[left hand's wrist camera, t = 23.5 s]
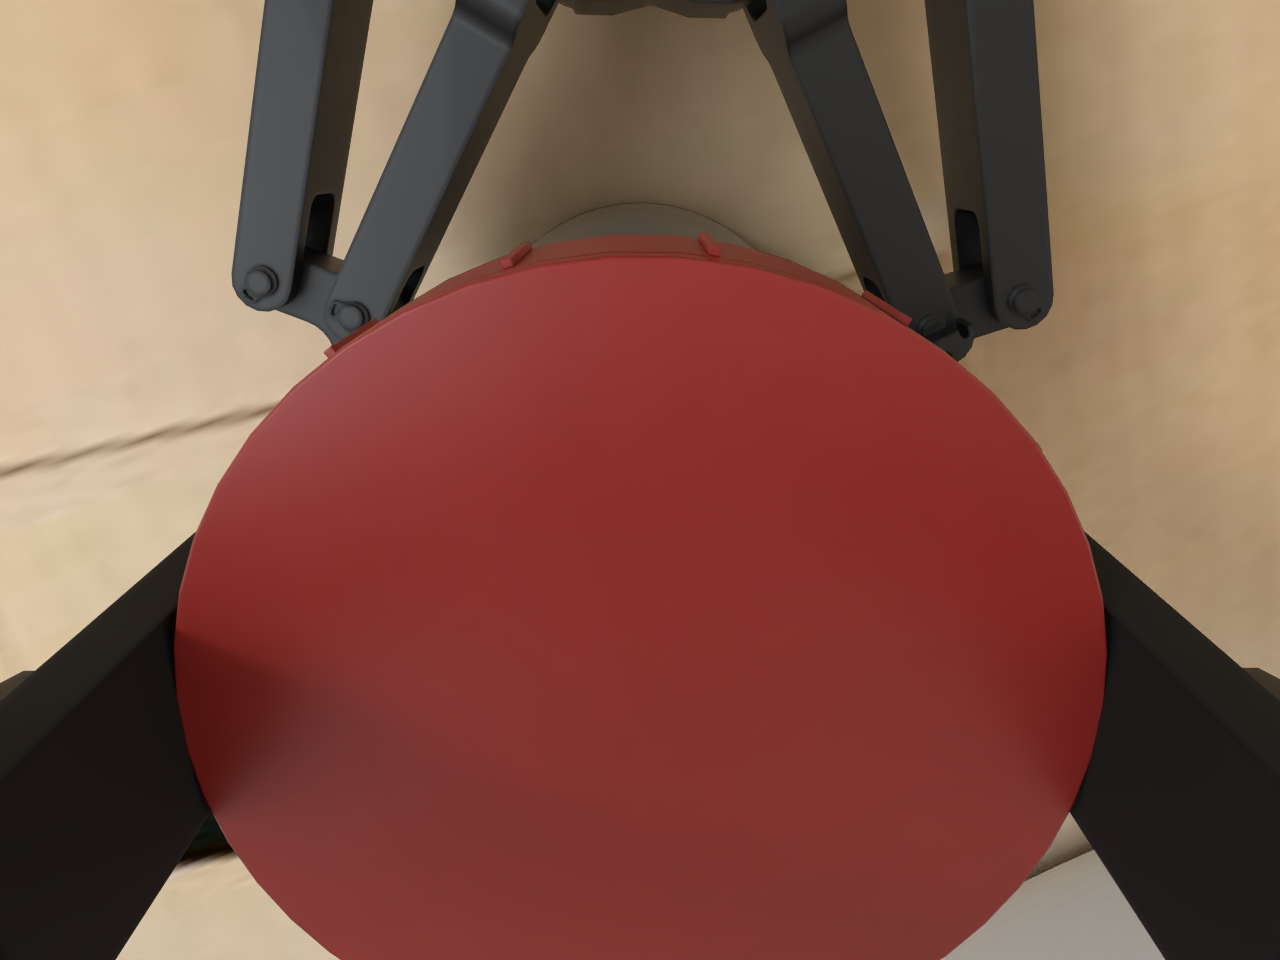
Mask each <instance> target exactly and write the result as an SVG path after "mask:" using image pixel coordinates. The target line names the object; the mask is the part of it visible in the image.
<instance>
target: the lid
mask: <svg viewBox="0 0 1280 960" xmlns="http://www.w3.org/2000/svg"><path fill="white" fill-rule="evenodd" d="M911 320H912V319H911V318H910V317H908V316H907V315H905V314H903V313H902V312H900V311H899V310H897V309H895V308H894V307H892V306H891V305H889V304H887V303H886V302H884V301H883V300H881V299H880V298H878V297H876V296H875V295H873V294H872V293H870V292H868V291H867V290H865V291H864V292H863V294H862V295H861V296H860V295H858V294H856V293H855V292H853V291H852V290H850V289H849V288H847V287H845V286H844V285H842V284H841V283H839V282H837V281H834V280H832V279H830V278H828V277H825V276H823V275H821V274H819V273H816V272H814V271H812V270H810V269H807V268H805V267H803V266H801V265H798V264H796V263H794V262H792V261H789V260H787V259H783V258H780V257H777V256H773V255H770V254H766V253H763V252H759V251H756V250H752V249H749V248H745V247H742V246H738V245H735V244H731V243H724V242H717V241H715V240H714V239H713V237H712V236H711V235H710V234H709V233H708V232H702V231H700V233H699V239H697V238H690V237H683V236H676V235H608V236H600V237H592V238H584V239H576V240H569V241H561V242H555V243H551V244H547V245H544V246H540V247H536V248H533V249H532V247H531V244H530V242H525V243H522V244H520V245H519V246H518V247H517V248H515V249H514V250H513V251H512V252H511V253H509V254H508V255H506V256H503V257H500V258H497V259H495V260H493V261H490V262H488V263H485V264H483V265H481V266H478V267H476V268H474V269H471V270H469V271H467V272H464V273H462V274H459V275H457V276H455V277H452V278H450V279H448V280H446V281H444V282H443V283H441V284H439V285H438V286H436V287H434V288H433V289H431V290H429V291H428V292H426V293H424V294H423V295H421V296H419V297H418V298H416V299H414V300H413V301H411V302H409V303H408V304H406V305H404V306H403V307H401V308H400V309H398V310H397V311H395V312H394V313H392V314H391V315H389V316H388V317H386V318H385V319H383V320H382V321H380V322H379V321H378V320H377V319H376V318H374V319H373V320H371V321H370V322H368V323H367V324H365V325H363V326H362V327H360V328H359V329H357V330H356V331H354V332H352V333H351V334H349V335H348V336H346V337H345V338H343V339H342V340H340V341H338V342H337V343H335V344H334V345H332V346H331V347H329V348H328V349H327V350H326V351H325V352H324V354H325V355H326V356H327V357H328V359H327V360H326V361H325V362H323V363H322V364H321V365H320V366H318V367H317V368H316V369H315V370H314V371H312V372H311V373H310V374H309V375H307V376H306V377H305V378H304V379H303V380H301V381H300V382H299V383H298V384H296V385H295V386H294V387H293V388H292V389H291V390H290V391H289V392H288V393H287V394H286V396H285V397H284V398H283V399H282V400H281V401H280V402H279V403H278V404H277V406H276V407H275V408H274V409H273V410H272V411H271V412H270V413H269V414H268V415H267V417H266V418H265V419H264V420H263V421H262V422H261V423H260V424H259V425H258V427H257V428H256V429H255V430H254V431H253V432H252V433H251V434H250V436H249V437H248V439H247V440H246V442H245V444H244V445H243V447H242V448H241V450H240V451H239V453H238V454H237V456H236V457H235V459H234V460H233V462H232V463H231V465H230V466H229V468H228V469H227V471H226V472H225V474H224V476H223V477H222V479H221V480H220V482H219V483H218V485H217V487H216V489H215V491H214V494H213V496H212V498H211V500H210V503H209V505H208V507H207V509H206V511H205V514H204V516H203V518H202V520H201V522H200V525H199V527H198V529H197V531H196V534H195V536H194V539H193V542H192V546H191V550H190V554H189V557H188V561H187V565H186V568H185V572H184V576H183V579H182V583H181V587H180V590H179V599H178V609H177V618H176V627H175V637H174V665H175V685H176V697H177V702H178V707H179V712H180V716H181V721H182V726H183V731H184V735H185V740H186V745H187V749H188V753H189V757H190V760H191V762H192V765H193V768H194V771H195V773H196V776H197V779H198V782H199V784H200V787H201V790H202V793H203V795H204V798H205V800H206V801H207V803H208V805H209V807H210V809H211V811H212V813H213V815H214V817H215V818H216V820H217V822H218V824H219V826H220V828H221V830H222V832H223V833H224V835H225V837H226V839H227V841H228V843H229V844H230V845H231V847H232V848H233V850H234V851H235V852H236V854H237V855H238V856H239V858H240V859H241V861H242V862H243V863H244V865H245V866H246V868H247V869H248V870H249V872H250V873H251V875H252V876H253V877H254V879H255V880H256V882H257V883H258V884H259V885H260V886H261V887H262V888H263V889H264V891H265V892H266V893H267V894H268V895H269V896H270V897H271V898H272V899H273V900H274V901H275V902H276V904H277V905H278V906H279V907H280V908H281V909H282V910H283V911H284V912H285V913H286V914H287V915H288V917H289V918H290V919H291V920H292V921H294V922H295V923H296V924H297V925H298V926H299V927H301V928H302V929H303V930H304V931H305V932H306V933H308V934H309V935H310V936H311V937H312V938H313V939H315V940H316V941H317V942H318V943H319V944H321V945H322V946H323V947H324V948H325V949H326V950H328V951H329V952H330V953H331V954H333V955H334V956H336V957H337V958H339V959H340V960H941V959H943V958H944V957H946V956H947V955H948V954H949V953H951V952H952V951H953V950H954V949H955V948H957V947H958V946H959V945H960V944H961V943H963V942H964V941H965V940H966V939H967V938H969V937H970V936H971V935H972V934H973V933H975V932H976V931H977V930H978V929H980V928H981V927H982V926H983V925H984V924H985V923H986V922H987V921H988V920H989V919H990V918H991V917H992V916H993V915H994V914H995V913H996V912H997V911H998V910H999V909H1000V908H1001V907H1002V906H1003V905H1004V903H1005V902H1006V901H1007V900H1008V899H1009V898H1010V897H1011V896H1012V895H1013V894H1014V893H1015V892H1016V891H1017V890H1018V889H1019V888H1020V886H1021V885H1022V884H1023V882H1024V881H1025V880H1026V878H1027V877H1028V876H1029V874H1030V873H1031V872H1032V870H1033V869H1034V868H1035V866H1036V865H1037V863H1038V862H1039V861H1040V859H1041V858H1042V857H1043V855H1044V854H1045V853H1046V851H1047V850H1048V849H1049V847H1050V845H1051V844H1052V842H1053V840H1054V838H1055V836H1056V835H1057V833H1058V831H1059V829H1060V827H1061V826H1062V824H1063V822H1064V820H1065V818H1066V817H1067V815H1068V813H1069V811H1070V809H1071V808H1072V806H1073V804H1074V802H1075V799H1076V797H1077V794H1078V792H1079V789H1080V786H1081V784H1082V781H1083V779H1084V776H1085V773H1086V771H1087V768H1088V766H1089V763H1090V760H1091V757H1092V752H1093V748H1094V743H1095V739H1096V734H1097V730H1098V725H1099V720H1100V716H1101V711H1102V707H1103V701H1104V695H1105V681H1106V667H1107V642H1106V630H1105V618H1104V606H1103V597H1102V593H1101V589H1100V585H1099V581H1098V577H1097V573H1096V569H1095V565H1094V561H1093V557H1092V553H1091V549H1090V545H1089V542H1088V540H1087V537H1086V535H1085V533H1084V530H1083V528H1082V526H1081V523H1080V521H1079V519H1078V516H1077V514H1076V512H1075V509H1074V507H1073V505H1072V502H1071V500H1070V497H1069V495H1068V493H1067V491H1066V489H1065V487H1064V486H1063V484H1062V483H1061V481H1060V480H1059V478H1058V476H1057V475H1056V473H1055V472H1054V470H1053V468H1052V467H1051V465H1050V464H1049V462H1048V460H1047V459H1046V457H1045V456H1044V454H1043V452H1042V449H1041V448H1040V446H1039V444H1038V443H1037V442H1036V441H1035V440H1034V439H1033V438H1032V436H1031V435H1030V434H1029V433H1028V432H1027V431H1026V430H1025V428H1024V427H1023V426H1022V425H1021V424H1020V423H1019V421H1018V420H1017V419H1016V418H1015V417H1014V416H1013V415H1012V413H1011V412H1010V411H1009V410H1008V409H1007V408H1006V406H1005V405H1004V404H1003V403H1002V402H1001V401H1000V400H999V398H998V397H997V396H996V395H995V394H994V393H993V392H992V391H991V390H990V389H988V388H987V387H986V386H985V385H984V384H983V383H981V382H980V381H979V380H978V379H977V378H975V377H974V376H973V375H972V374H971V373H970V372H968V371H967V370H966V369H965V368H964V367H963V366H961V365H960V364H959V363H958V362H957V361H956V360H954V359H953V358H952V357H951V356H950V355H948V354H947V353H946V352H945V351H944V350H942V349H941V348H939V347H938V346H936V345H935V344H933V343H932V342H930V341H929V340H927V339H926V338H924V337H923V336H921V335H920V334H918V333H917V332H915V331H914V330H912V329H911V328H909V327H908V325H909V323H910V322H911Z"/></svg>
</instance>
